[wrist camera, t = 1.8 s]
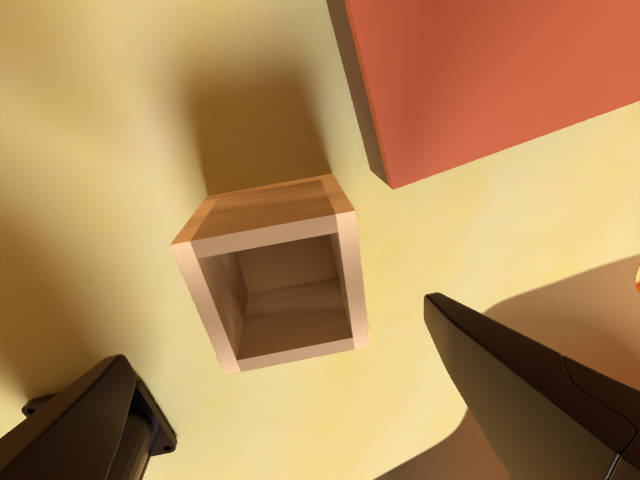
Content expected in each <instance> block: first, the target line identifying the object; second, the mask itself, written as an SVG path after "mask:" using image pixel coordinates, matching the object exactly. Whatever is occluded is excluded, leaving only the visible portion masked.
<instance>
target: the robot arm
mask: <svg viewBox="0 0 640 480" xmlns="http://www.w3.org/2000/svg"><path fill="white" fill-rule="evenodd" d="M424 320H425V323H426V326H427V328H428V330H429V332H430V335H431V337H432V339H433V341H434V344H435V346H436V348H437V350H438V353H439V355H440V357H441V359H442V361H443V364H444V366H445V368H446V370H447V372H448V374H449V375H450V377H451V379H452V381H453V382H454V384H455V386H456V387H457V389H458V391H459V393H460V394H461V396H462V398H463V399H464V401H465V403H466V405H467V406H468V408H469V410H470V411H471V413H472V415H473V416H474V418H475V420H476V422H477V423H478V425H479V427H480V428H481V430H482V432H483V434H484V435H485V437H486V439H487V441H488V442H489V444H490V446H491V447H492V449H493V451H494V452H495V454H496V456H497V457H498V459H499V461H500V463H501V464H502V466H503V468H504V470H505V471H506V473H507V475H508V476H509V478H510V480H640V390H637V389H635V388H633V387H631V386H628V385H626V384H624V383H622V382H619V381H617V380H615V379H613V378H610V377H608V376H606V375H604V374H602V373H600V372H598V371H596V370H594V369H592V368H589V367H587V366H585V365H583V364H581V363H579V362H577V361H575V360H573V359H571V358H569V357H567V356H565V355H563V356H562V355H561V353H559V352H557V351H555V350H553V349H551V348H549V347H547V346H545V345H543V344H541V343H539V342H537V341H535V340H533V339H531V338H529V337H527V336H525V335H523V334H521V333H519V332H517V331H515V330H513V329H511V328H509V327H507V326H505V325H503V324H501V323H499V322H497V321H495V320H493V319H491V318H489V317H487V316H485V315H483V314H481V313H479V312H477V311H475V310H473V309H471V308H469V307H467V306H465V305H463V304H461V303H459V302H457V301H455V300H453V299H451V298H449V297H447V296H445V295H443V294H441V293H438V292H436V293H430V294H426V295H425V296H424ZM22 413H23V414H24V415H25V416H26V417H27V418H26V419H25V420H24V421H22V422H21V423H20V424H19V425H17V426H16V427H15V428H13V429H12V430H11V431H9V432H8V433H7V434H5V435H4V436H3V437H2V438H0V480H142V479H143V476H144V473H145V471H146V468H147V465H148V463H149V460H150V457H151V456H156V455H161V454H166V453H171V452H173V451H174V450H175V449H176V445H177V439H176V438H175V436H174V435H173V433H172V431H171V430H170V428H169V426H168V425H167V423H166V422H165V420H164V418H163V417H162V415H161V413H160V412H159V410H158V409H157V407H156V405H155V404H154V402H153V401H152V399H151V397H150V396H149V394H148V392H147V391H146V389H145V388H144V386H143V384H142V383H141V382H139V381H137V380H136V373H135V371H134V369H133V368H132V366H131V364H130V363H129V361H128V360H127V358H126V357H125V356H124V355H123V354H118V355H113V356H108V357H106V358H104V359H103V360H102V361H101V362H99V363H98V364H97V365H95V366H94V367H93V368H91V369H90V370H89V371H88V372H86V373H85V374H84V375H82V376H81V377H80V378H78V379H77V380H76V381H74V382H73V383H72V384H71V385H69V386H68V387H67V388H65V389H64V390H63V391H61V392H60V393H59V394H56V395H51V396H46V397H41V398H36V399H31V400H29V401H28V402H27V403H26V404H25V406H24V407H23V408H22Z"/></svg>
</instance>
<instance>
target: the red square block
mask: <svg viewBox="0 0 640 480" xmlns="http://www.w3.org/2000/svg"><path fill="white" fill-rule="evenodd" d="M326 2H327V6H328V10H329V13H330V17H331V21H332V25H333V29H334V32H335V36H336V40H337V44H338V48H339V51H340V55H341V59H342V63H343V67H344V71H345V74H346V78H347V82H348V86H349V90H350V93H351V97H352V101H353V105H354V109H355V112H356V116H357V120H358V124H359V128H360V131H361V135H362V139H363V143H364V147H365V150H366V154H367V158H368V162H369V166H370V170H371V171H372V172H373V173H374V174H375V175H377V176H378V177H379V178H380V179H381V180H382V181H384V182H385V183H386V184H387V185H388V186H389V187H391V188H392V189H393V190H394V189H396V188H399V187H402V186H405V185H407V184H410V183H413V182H416V181H419V180H421V179H424V178H427V177H430V176H432V175H435V174H438V173H441V172H443V171H446V170H449V169H452V168H455V167H457V166H460V165H463V164H466V163H468V162H471V161H474V160H477V159H479V158H482V157H485V156H488V155H490V154H493V153H496V152H499V151H502V150H504V149H507V148H510V147H513V146H515V145H518V144H521V143H524V142H526V141H529V140H532V139H535V138H538V137H540V136H543V135H546V134H549V133H551V132H554V131H557V130H560V129H562V128H565V127H568V126H571V125H574V124H576V123H579V122H582V121H585V120H587V119H590V118H593V117H596V116H598V115H601V114H604V113H607V112H610V111H612V110H615V109H618V108H621V107H623V106H626V105H629V104H632V103H634V102H637V101H640V0H326Z"/></svg>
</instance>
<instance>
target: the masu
mask: <svg viewBox="0 0 640 480" xmlns="http://www.w3.org/2000/svg"><path fill="white" fill-rule="evenodd" d="M170 247H171V249H172V252H173V254H174V256H175V259H176V261H177V263H178V266H179V268H180V270H181V273H182V275H183V277H184V280H185V282H186V284H187V287H188V289H189V291H190V294H191V296H192V298H193V301H194V303H195V306H196V308H197V310H198V313H199V315H200V317H201V320H202V322H203V324H204V327H205V329H206V331H207V334H208V336H209V338H210V341H211V343H212V345H213V348H214V350H215V352H216V355H217V357H218V359H219V362H220V364H221V366H222V369H223V371H224V373H225V375H228V374H233V373H238V372H243V371H248V370H253V369H258V368H263V367H268V366H273V365H278V364H283V363H288V362H293V361H298V360H303V359H308V358H313V357H318V356H323V355H328V354H333V353H338V352H343V351H348V350H353V349H358V348H363V347H368V346H370V341H369V332H368V322H367V313H366V304H365V295H364V285H363V276H362V267H361V258H360V248H359V239H358V230H357V221H356V211H355V209H354V208H353V206H352V204H351V203H350V201H349V200H348V198H347V196H346V195H345V193H344V192H343V190H342V188H341V187H340V185H339V184H338V182H337V180H336V179H335V177H334V176H333V174H326V175H321V176H315V177H310V178H304V179H299V180H293V181H287V182H282V183H276V184H271V185H265V186H260V187H254V188H249V189H243V190H238V191H232V192H227V193H221V194H215V195H210V196H207V197H206V199H205V200H204V201H203V203H202V204H201V205H200V207H199V208H198V209H197V210H196V212H195V213H194V214H193V216H192V217H191V218H190V219H189V221H188V222H187V223H186V225H185V226H184V227H183V229H182V230H181V231H180V232H179V234H178V235H177V236H176V238H175V239H174V240H173V241H172V243H171V244H170Z"/></svg>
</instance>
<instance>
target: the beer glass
mask: <svg viewBox="0 0 640 480" xmlns="http://www.w3.org/2000/svg"><path fill="white" fill-rule="evenodd" d="M636 288H637V290H638V292H639V294H640V265H639V267H638V270H637V273H636Z"/></svg>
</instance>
